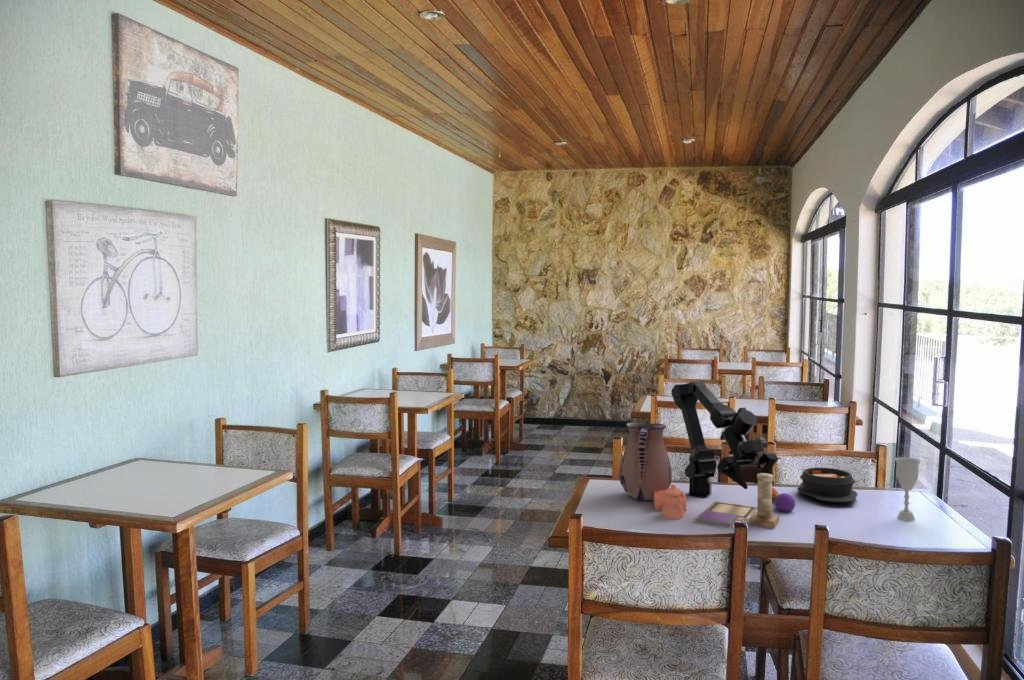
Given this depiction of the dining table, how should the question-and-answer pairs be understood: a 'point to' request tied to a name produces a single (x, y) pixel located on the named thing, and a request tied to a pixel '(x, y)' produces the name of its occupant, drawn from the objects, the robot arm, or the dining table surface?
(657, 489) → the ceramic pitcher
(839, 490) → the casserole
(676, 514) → the pottery
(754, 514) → the stamp
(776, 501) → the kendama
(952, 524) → the dining table surface
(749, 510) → the stamp board
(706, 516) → the ink pad
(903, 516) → the chalice
